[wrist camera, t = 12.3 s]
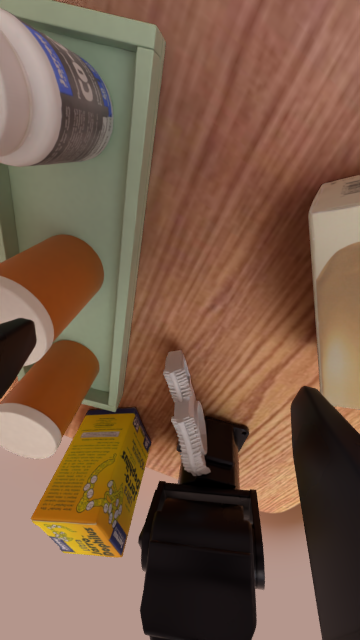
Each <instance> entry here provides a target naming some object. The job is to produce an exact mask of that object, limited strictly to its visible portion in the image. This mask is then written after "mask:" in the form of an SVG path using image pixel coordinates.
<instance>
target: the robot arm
mask: <svg viewBox="0 0 360 640" xmlns="http://www.w3.org/2000/svg"><path fill="white" fill-rule="evenodd" d="M36 342H37V338H36V330H35V324H34V322H33V321H32V320H29V319H25V318H17V319H14V320H11V321H8V322H5V323H2V324H0V399H1V398H2V397H3V395H4V394H5V393H6V391H7V390H8V389H9V387H10V386H11V385H12V383H13V382H14V380H15V379H16V377H17V375H18V374H19V372H20V370H21V369H22V367H23V366H24V364H25V362H26V361H27V359H28V357H29V356H30V354H31V353H32V351H33V349H34V348H35V346H36ZM204 419H205V425H206V435H207V454H206V455H204V457H205V461H206V467H209V469H210V471H211V472H210V473H207V474H202V475H200V476H197V475H196V476H193V474H192V473H191V472H187V470H184V468H185V467H183V463H182V459H181V466H180V473H179V480H178V484H174V483H166V482H165V481H159V484H158V487H157V490H155V493H154V496H153V499H152V503H151V506H150V509H149V512H148V515H147V518H146V522H145V525H144V527H143V529H142V531H141V533H140V536H139V545H140V547H141V549H142V554H141V564H142V569H143V571H145V572H146V574H145V583H144V591H143V596H142V602H141V608H140V612H141V619H142V625H143V630H144V633H145V635H149V636H150V640H251V639H252V637H253V634H254V632H255V628H256V598H255V589H262V590H263V589H264V586H265V585H264V584H265V573H264V555H263V542H262V534H261V525H260V518H259V509H258V500H257V492H256V490H251V489H250V491H249V490H240V485H239V459H238V452H239V451H240V449H241V447H242V445H243V444H244V442H245V440H246V438H247V437H248V435H249V429H248V428H247V427H244V426H240V425H236V424H232V423H228V422H224V421H220V420H216V419H213V418H209V417H205V416H204ZM291 427H292V448H293V458H294V465H295V471H296V477H297V484H298V490H299V496H300V502H301V508H302V514H303V521H304V527H305V534H306V540H307V546H308V552H309V559H310V565H311V571H312V577H313V584H314V590H315V596H316V602H317V609H318V615H319V621H320V627H321V633H322V640H360V434H359V433H358V432H357V431H356V430H355V429H354V428H353V427H352V426H351V425H350V424H349V423H348V421H347V420H346V419H345V418H344V417H343V416H342V415H341V414H340V413H339V412H338V411H337V410H336V409H335V408H334V407H333V406H332V405H331V404H330V402H329V401H328V400H327V399H326V398H325V397H324V396H323V395H322V394H321V393H320V392H319V391H318V390H317V389H315V388H311V387H307V386H303V387H302V388H301V389H300V390H299V392H298V393H297V395H296V397H295V398H294V400H293V402H292V404H291ZM179 443H180V441H178V444H177V451H178V452H182V450H181V449H180V448H181V445H179Z"/></svg>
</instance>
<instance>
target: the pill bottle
mask: <svg viewBox="0 0 360 640" xmlns="http://www.w3.org/2000/svg"><path fill="white" fill-rule="evenodd" d="M113 119H114V115H113V106H112V101H111V98H110V94H109V91H108V89H107V87H106V85H105V83H104V81H103V79H102V78H101V76H100V75H99V74H98V72H97V71H96V70H95V69H94V68H93V67H92V66H91V65H90V64H89V63H88V62H87V61H86V60H84V59H83V58H81V57H80V56H78V55H77V54H75V53H73V52H72V51H70V50H69V49H67V48H66V47H64V46H63V45H61V44H60V43H58V42H56V41H54V40H53V39H51V38H49V37H48V36H46V35H45V34H43V33H41V32H39V31H38V30H36V29H34V28H33V27H32V26H31V25H29V24H27V23H25V22H24V21H22V20H21V19H19V18H18V17H16V16H15V15H13V14H11V13H10V12H8V11H6V10H4V9H2V8H0V163H3V164H6V165H11V166H17V167H24V166H36V165H50V164H58V163H69V162H80V161H86V160H89V159H92V158H94V157H96V156H97V155H99V154H100V153H101V152H102V151H103V150H104V148H105V147H106V145H107V144H108V142H109V139H110V137H111V134H112V130H113Z"/></svg>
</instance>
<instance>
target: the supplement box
mask: <svg viewBox="0 0 360 640" xmlns="http://www.w3.org/2000/svg"><path fill="white" fill-rule="evenodd" d="M150 446H151V440H150V438H149V437H148V435H147V433H146V431H145V429H144V427H143V424H142V422H141V420H140V417H139V414H138V412H137V410H136V408H135V407H132V408H117V410H116V412H112V411H108V410H104V409H101V410H89V411H88V412H87V414H86V416H85V418H84V419H83V421H82V423H81V425H80V427H79V429H78V431H77V433H76V434H75V436H74V438H73V440H72V442H71V444H70V446H69V448H68V450H67V451H66V454H65V455H64V457H63V459H62V461H61V463H60V465H59V467H58V469H57V470H56V472H55V474H54V476H53V478H52V480H51V482H50V483H49V485H48V487H47V489H46V491H45V493H44V495H43V497H42V498H41V500H40V502H39V504H38V506H37V508H36V510H35V512H34V513H33V515H32V517H31V520H32V522H33V523H34V524H35V525H38V526H39V527H40V528H41V529H42V530H43V531H44V532H45V533H46V534H47V535H48V536H49V537H50V538H51V539H52V540H53V541H54V542H55V543H56V544H57V545H58V546H59V547H60V549H61V551H62V552H64V553H71V554H84V555H96V556H105V557H122V556H123V552H124V548H125V544H126V540H127V536H128V532H129V528H130V524H131V520H132V516H133V512H134V508H135V504H136V500H137V496H138V492H139V489H140V484H141V481H142V477H143V473H144V470H145V465H146V462H147V458H148V454H149V450H150Z"/></svg>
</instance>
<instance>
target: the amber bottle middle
mask: <svg viewBox="0 0 360 640" xmlns="http://www.w3.org/2000/svg"><path fill="white" fill-rule="evenodd" d="M103 281H104V269H103V265H102V262H101V260H100V258H99V256H98V255H97V253H96V252H95V251H94V250H93V248H92V247H91V246H89V245H88V244H87V243H86V242H84V241H83V240H81V239H79V238H77V237H74V236H71V235H64V234H61V235H55V236H52V237H50V238H48V239H46V240H44V241H42V242H40V243H38V244H36V245H34V246H33V247H31V248H29V249H27V250H25V251H23V252H21V253H19V254H17V255H15V256H13V257H11V258H9V259H7V260H5V261H3V262H2V263H0V324H2V323H5V322H8V321H11V320H14V319H17V318H25V319H29V320H32V321H33V322H34V324H35V330H36V338H37V342H36V346H35V348H34V349H33V351H32V353H31V354H30V356H29V357H28V359H27V361H26V362H25V364H24V366H27V365H31V364H33V363H36V362H37V361H39V360H40V359H41V358H42V357H43V356H44V355H45V354H46V353H47V351H48V350H49V349H50V347H51V346H52V343H53V342H54V341H55V339H56V338H57V337H58V336H59V335H60V334H61V333H62V332H63V330H64V329H65V328H66V327H67V326H68V325H69V324H70V323H71V321H72V320H73V319H74V318H75V317H76V316H77V315H78V313H79V312H80V311H81V310H82V309H83V308H84V307H85V306H86V304H87V303H88V302H89V301H90V300H91V299H92V298H93V297H94V295H95V294H96V293H97V292H98V291H99V290H100V288H101V286H102V284H103Z"/></svg>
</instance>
